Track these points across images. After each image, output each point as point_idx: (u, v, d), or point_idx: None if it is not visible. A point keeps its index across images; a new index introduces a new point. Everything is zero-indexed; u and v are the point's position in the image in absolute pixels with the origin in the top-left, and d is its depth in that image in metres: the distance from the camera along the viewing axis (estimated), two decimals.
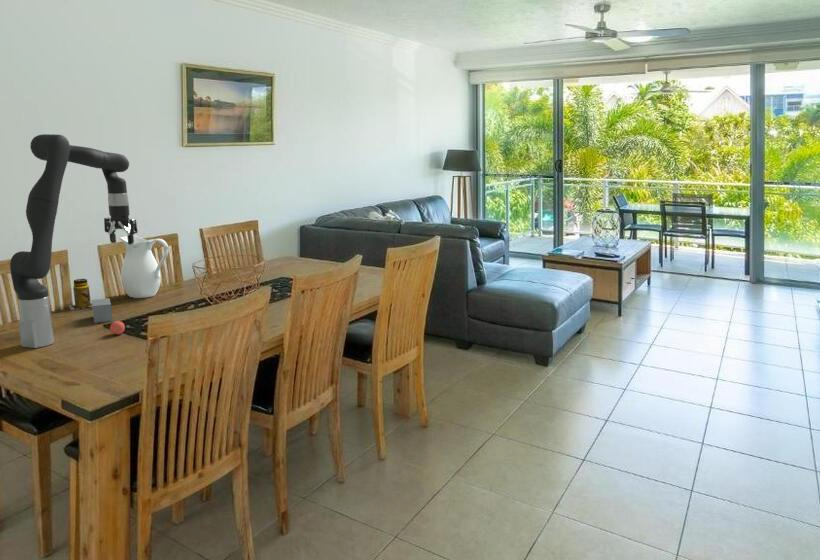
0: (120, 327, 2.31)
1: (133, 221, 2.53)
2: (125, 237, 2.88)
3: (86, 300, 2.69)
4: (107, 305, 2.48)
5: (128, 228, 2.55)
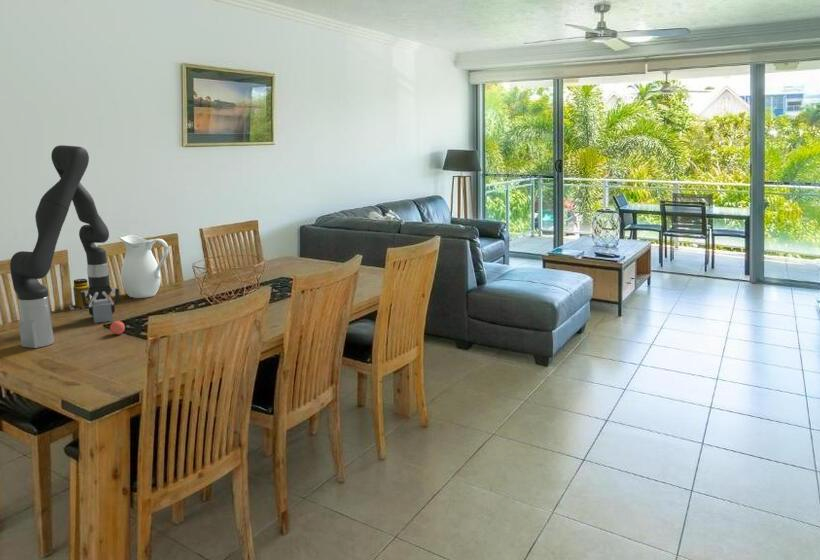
0: (120, 327, 2.31)
1: (118, 290, 2.54)
2: (125, 237, 2.88)
3: (86, 300, 2.69)
4: (107, 305, 2.48)
5: (110, 298, 2.53)
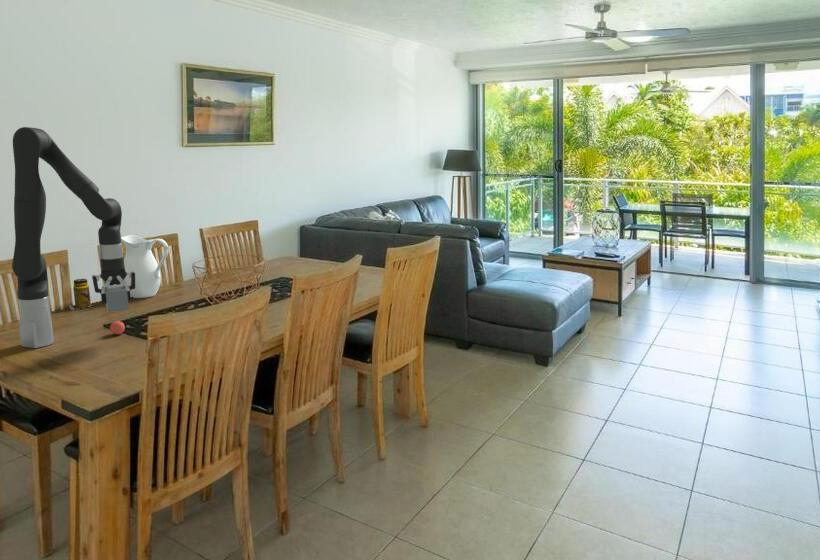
0: (120, 327, 2.31)
1: (134, 274, 2.22)
2: (125, 237, 2.88)
3: (86, 300, 2.69)
4: (123, 291, 2.17)
5: (125, 283, 2.21)
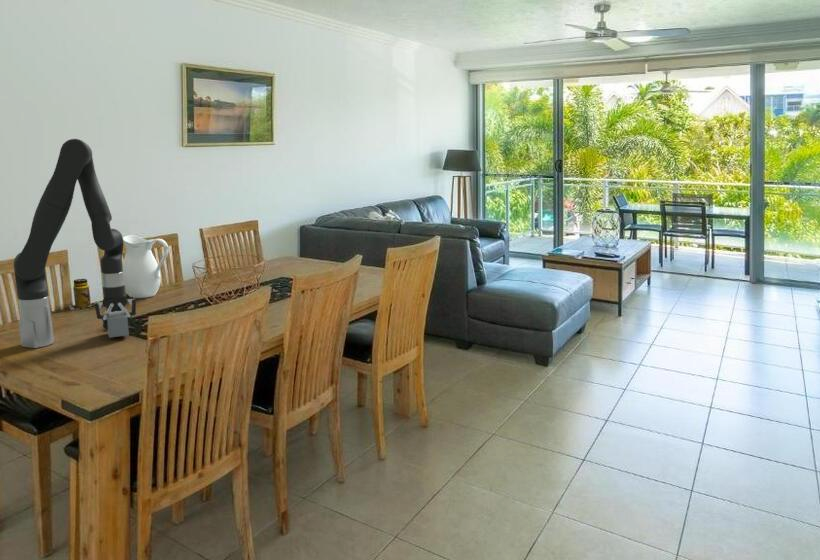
0: None
1: None
2: (125, 237, 2.88)
3: (86, 300, 2.69)
4: (123, 318, 2.26)
5: (126, 309, 2.31)
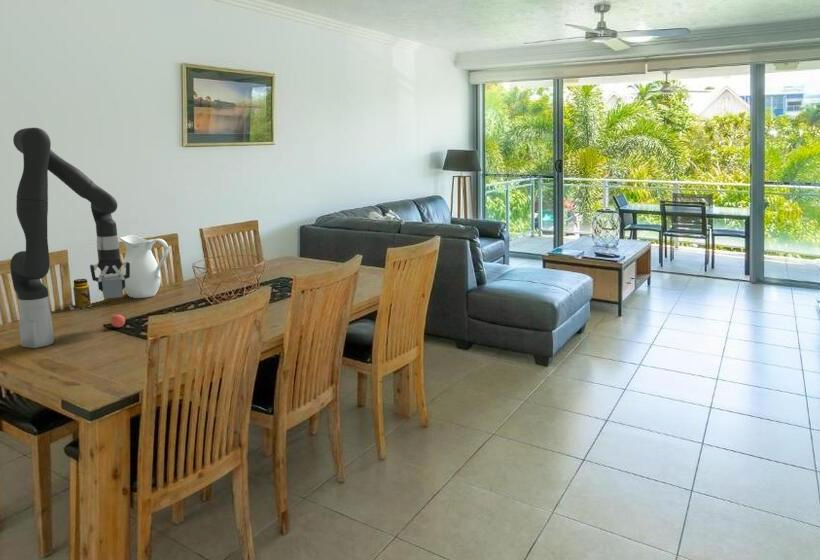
0: None
1: (129, 264, 2.41)
2: (125, 237, 2.88)
3: (86, 300, 2.69)
4: (117, 280, 2.35)
5: None
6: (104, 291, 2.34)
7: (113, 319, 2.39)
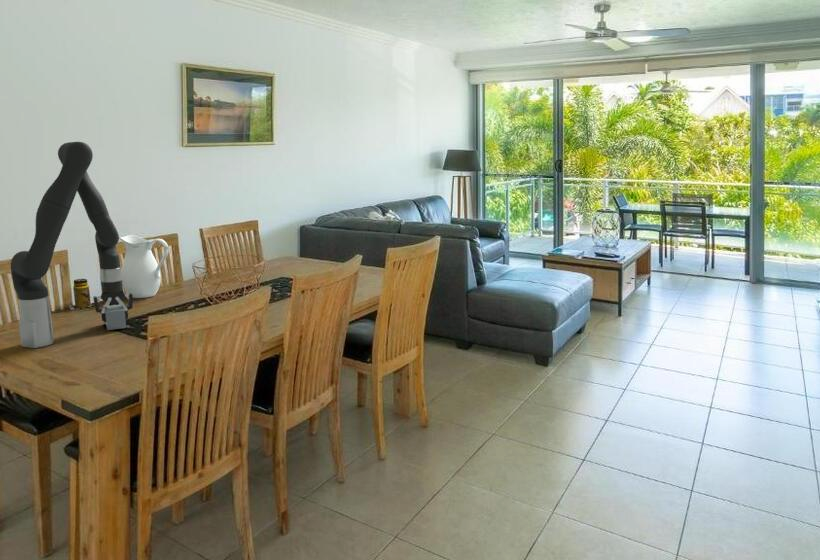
0: None
1: None
2: (125, 237, 2.88)
3: (86, 300, 2.69)
4: (121, 311, 2.38)
5: None
6: (107, 323, 2.36)
7: None
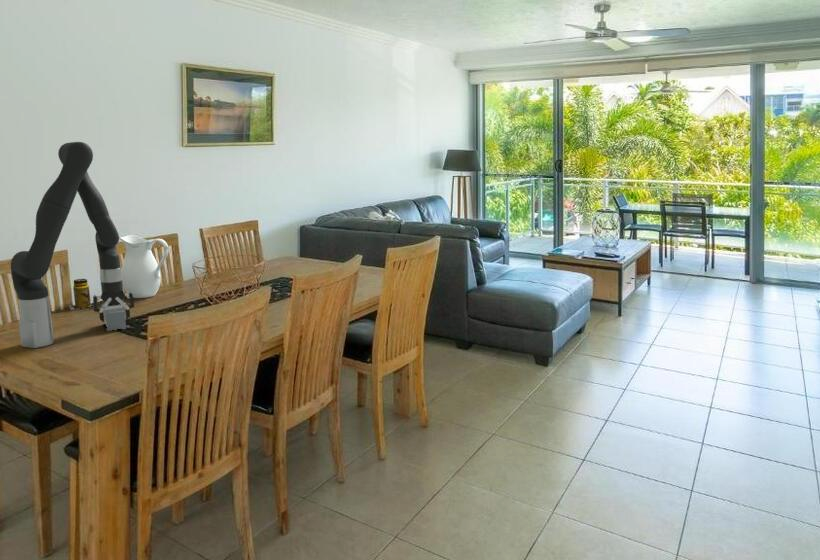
0: None
1: None
2: (125, 237, 2.88)
3: (86, 300, 2.69)
4: (121, 312, 2.38)
5: (125, 303, 2.43)
6: (107, 324, 2.36)
7: None
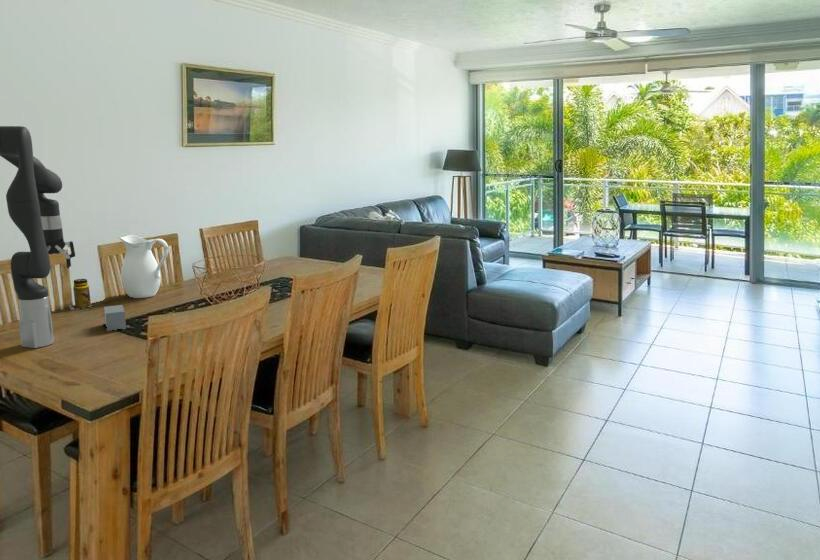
0: None
1: None
2: (125, 237, 2.88)
3: (86, 300, 2.69)
4: (121, 312, 2.38)
5: (65, 252, 2.41)
6: (107, 324, 2.36)
7: None
